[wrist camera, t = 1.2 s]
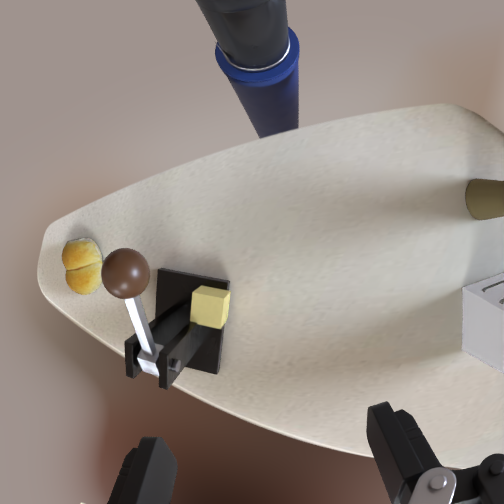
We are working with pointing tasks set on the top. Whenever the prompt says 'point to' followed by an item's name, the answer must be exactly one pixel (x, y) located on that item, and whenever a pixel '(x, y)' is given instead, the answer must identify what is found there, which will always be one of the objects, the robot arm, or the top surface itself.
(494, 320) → the grater
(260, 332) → the top surface
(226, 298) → the butter
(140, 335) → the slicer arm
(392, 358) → the top surface
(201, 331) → the slicer
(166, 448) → the robot arm
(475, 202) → the cork
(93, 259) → the bread roll
